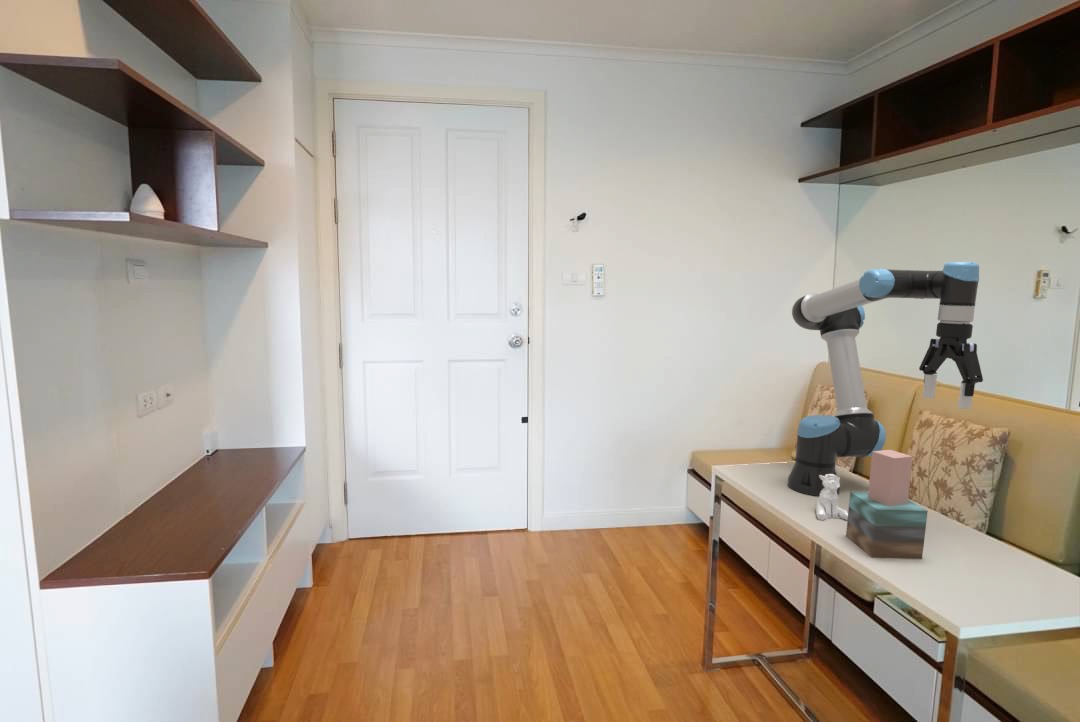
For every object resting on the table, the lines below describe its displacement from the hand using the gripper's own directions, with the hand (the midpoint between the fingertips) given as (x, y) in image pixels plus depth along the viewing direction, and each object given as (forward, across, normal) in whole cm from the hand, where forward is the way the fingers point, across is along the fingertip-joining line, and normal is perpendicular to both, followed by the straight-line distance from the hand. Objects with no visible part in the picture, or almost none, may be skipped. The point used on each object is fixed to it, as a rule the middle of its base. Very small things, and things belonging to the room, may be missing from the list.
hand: (945, 403), depth 151 cm
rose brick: (+23, -12, +20) cm, 33 cm away
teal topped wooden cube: (+35, -12, +20) cm, 42 cm away
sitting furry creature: (+35, +8, +24) cm, 43 cm away
